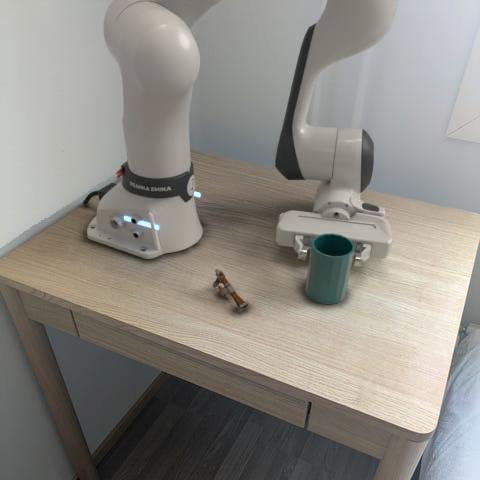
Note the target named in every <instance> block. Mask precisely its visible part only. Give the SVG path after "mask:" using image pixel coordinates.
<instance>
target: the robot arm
mask: <svg viewBox="0 0 480 480" xmlns="http://www.w3.org/2000/svg"><path fill="white" fill-rule="evenodd" d="M221 2H222V0H113V1H111V2H110V4H109V5H108V6H107V9H106V11H105V14H104V18H103V25H102V26H103V38H104V43H105V45H106V48H107V50H108V52H109V53H110V55H111V56H112V58H113V59H114V60H115V62H116V64H117V66H118V68H119V71H120V75H121V81H122V97H123V99H122V100H123V107H122V109H123V111H122V112H123V115H122V120H121V124H122V131H123V138H124V145H125V152H126V161H125V162H124V163H122V164H121V165H120V168H119V169H118V170H117V171H116V172H115V175H116V179H120V177H122V179H121V181H119V182H118V183H115V182H111V183H109V184H107V185H105V186H104V187H102V188H100V189H99V190H94V191H92V192H89V193H88V194H87V195H86V197H85V198H84V200H83V202H82V204H83V205H85V206H86V205H88V204H89V202H90V201H91V200H92V198H93V197H95V196H98V200H99V202H98V204H97V207H96V215H95V216H94V217H93V219H92V220H91V221H90V222H89V224H88V226H87V228H86V237H87V239H89V240H90V241H93V242H96V243H98V244H101V245H105V246H108V247H111V248H113V249H116V250H119V251H122V252H125V253H128V254H130V255H133V256H136V257H139V258H141V259H145V260H152V259H155V258H157V257H160V256H162V255H165V254H171V253H177V252H180V251H183V250H186V249H189V248H191V247H192V246H194V245H196V244H197V243H198V242H199V241H200V240H201V239H202V237H203V234H204V228H203V226H202V224H201V220H200V218H199V214H198V211H197V205H196V200H195V197H197V198H201V192H198V191H195V190H196V177H195V171H194V169H195V168H194V163H193V161H192V158H191V138H190V137H191V136H190V114H191V113H190V111H191V105H192V98H193V92H194V91H193V90H194V84H195V82H196V81H197V78H198V75H199V73H200V68H201V67H200V66H201V54H200V51H199V46H198V45H197V41H196V39H195V37H194V35H193V33H192V31H191V28H192V27H193V26H194V25H195V24H196V23H197V22H198V20H200V19H201V17H202V16H204V15H205V14H206V13H207V12H208V11H209V10H210V9H212V8H213V7H214V6H216V5H217V4H219V3H221ZM398 5H399V0H326V3H325V6H324V9H323V11H322V13H321V15H320V17H319V19H318V20H317V21H316V22H315V23H314V24H312V25H309V27H308V28H307V29H306V32H305V34H304V37H303V39H302V42H301V45H300V49H299V53H298V57H297V61H296V65H295V70H294V73H293V78H292V84H291V88H290V92H289V95H288V100H287V105H286V109H285V112H284V113H285V114H284V119H283V123H282V126H281V130H280V132H279V134H278V137H277V140H276V142H275V146H274V153H273V159H274V167H275V168H276V170H277V171H278V172H279V173H280V175H282V177H284V179H286V180H287V181H306V180H311V181H312V180H313V181H319V184H318V186H317V189H316V193H315V198H314V199H315V201H314V204H313V209H312V211H303V210H287V211H286V212H281V213H280V214H279V215H278V220H277V222H278V223H277V225H276V231H275V242H276V243H277V244H278V245H279V246H281V247H290V248H293V249H294V251H295V252H296V253H297V255H298V256H297V259H298V260H307V258H308V252H309V251H308V250H311V243H312V240H313V239H314V238H315V237H316V236H318V235H322V234H330V233H333V234H339V235H342V236H345V237H347V238H349V239H350V240H351V241H352V242H353V243H354V245H355V250H354V255H353V256H354V258H353V266H354V267H357V268H358V267H359V268H364V267H363V266H364V263H365V262H366V261H367V260H369V259H370V258H373V259H380V260H381V259H387V258H388V257H389V256H390V254H391V251H392V247H393V243H394V236H393V230H392V227H391V224H390V222H389V220H387V219H386V209H385V208H384V207H381V206H378V205H374V204H372V203H368V202H366V201H363V200H362V199H361V194H362V193H363V192H364V191H365V190H366V189H367V188H368V187H369V185H370V183H371V181H372V177H373V173H374V164H375V163H374V161H375V158H374V157H375V154H374V153H375V143H374V141H373V138H371V136H370V134H369V133H368V131H367V130H365V129H363V128H355V127H341V126H340V127H334V126H333V127H332V126H331V127H330V126H315V125H311V124H310V125H309V124H308V123H307V117H308V113H309V109H310V106H311V101H312V97H313V93H314V88H315V85H316V82H317V79H318V78H319V75H320V74H321V73H322V72H323V71H324V70H325V69H326V68H328V67H329V66H331V65H333V64H336V63H337V62H339V61H342V60H345V59H349V58H351V57H353V56H356V55H359V54H362V53H363V52H366V51H367V50H369V49H371V48H372V47H374V46H376V45H377V44H378V43H380V42H381V41H382V40H383V39H384V38H385V37H386V35H387V34H388V33H389V31H390V29H391V28H392V27H393V24H394V20H395V16H396V13H397V9H398Z"/></svg>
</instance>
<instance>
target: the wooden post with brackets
mask: <svg viewBox="0 0 480 480" xmlns="http://www.w3.org/2000/svg"><path fill="white" fill-rule="evenodd" d="M214 272H215V274H214V276H216V278H215V280H214V281H213V283H212V287H213V288H214V289H216V288H217V290H218V294H220V295H221V298H224V299H227V298H228V297H229V296H230V297H231V298H232V299H233V301H234V303H235V305H236V307H237V313H240V312H242V311H244V310H246V309H247V308H248V306H249V305H250V302H249V300H247V301H245V300H244V299H243V298H242V297H241V296H240V295H239V294H238V293H237V292H236V289H235V288H234V286H233V284H232V283H231V282H229V281H228V279H227V278H226V274H225V273H224V271H222V269H218V268H216V269H215V271H214ZM220 284H222V285H223V287H222V285H220Z"/></svg>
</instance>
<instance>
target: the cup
mask: <svg viewBox="0 0 480 480" xmlns="http://www.w3.org/2000/svg"><path fill="white" fill-rule="evenodd" d="M354 250H355V245H354V243H353V242H352V241H351V240H350V239H349V238H347V237H345V236H342V235H339V234H333V233H330V234H322V235H318V236H316V237H315V238H314V239H313V240H312V243H311V249H309V257H308V266H307V273H306V280H305V290H304V291H305V294H306V296H307V297H308V298H309V299H310V300H311V301H313V302H315V303H318V304H321V305H335V304H338V303H340V302H342V301H343V300H344V299H345V297H346V293H347V288H348V284H349V280H350V273H351V269H352V265H353V261H354V256H355V255H354Z"/></svg>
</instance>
